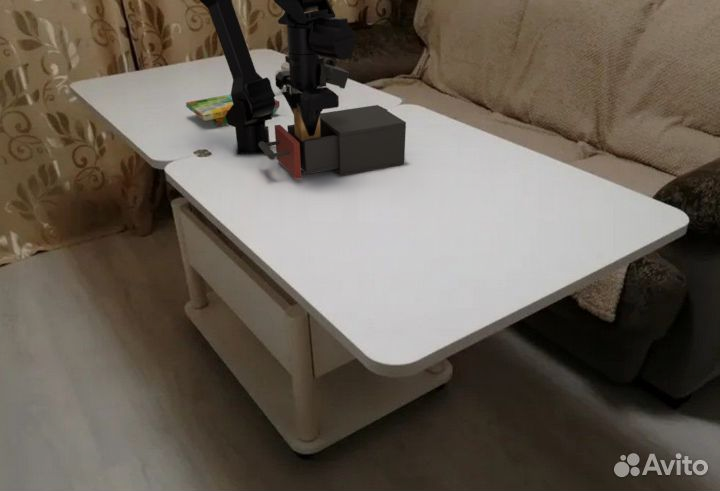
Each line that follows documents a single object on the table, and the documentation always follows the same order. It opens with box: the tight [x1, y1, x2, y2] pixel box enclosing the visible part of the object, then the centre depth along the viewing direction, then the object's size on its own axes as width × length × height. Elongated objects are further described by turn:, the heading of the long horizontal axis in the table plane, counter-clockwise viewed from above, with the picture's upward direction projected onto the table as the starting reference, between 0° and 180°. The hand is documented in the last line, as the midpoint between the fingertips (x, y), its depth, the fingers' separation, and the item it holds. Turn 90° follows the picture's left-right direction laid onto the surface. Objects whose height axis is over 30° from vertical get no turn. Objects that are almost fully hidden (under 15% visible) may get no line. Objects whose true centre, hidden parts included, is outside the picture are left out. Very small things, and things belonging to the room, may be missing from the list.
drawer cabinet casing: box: [320, 104, 407, 177], centre depth 124 cm, size 15×13×9 cm
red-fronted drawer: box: [258, 122, 339, 180], centre depth 119 cm, size 18×11×7 cm, turn 115°
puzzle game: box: [185, 93, 281, 127], centre depth 149 cm, size 12×5×20 cm
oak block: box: [293, 108, 321, 141], centre depth 117 cm, size 4×4×6 cm
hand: (307, 132), depth 118 cm, fingers closed on oak block, 4 cm apart
